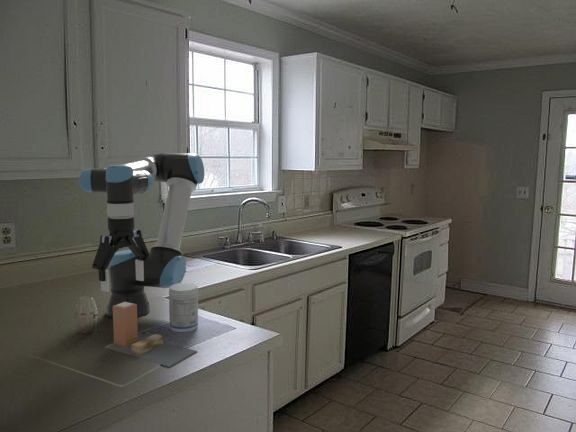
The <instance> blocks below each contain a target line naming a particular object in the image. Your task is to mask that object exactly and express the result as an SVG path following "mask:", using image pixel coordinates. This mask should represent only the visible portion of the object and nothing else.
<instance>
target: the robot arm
mask: <svg viewBox="0 0 576 432" xmlns="http://www.w3.org/2000/svg"><path fill="white" fill-rule="evenodd" d="M79 173H80V174H79V177H78V183H79V184H78V186H79V188H80V189H81V190H82V191H83V192H85V193H92V194H95V193H99V194H106V209H107V210H106V212H107V216H108V218H107V230H108V231H109V234H108V235H101V236H100V238H99V245H98V247H97V250H96V254H95V257H94V260H93V263H92V265H91V266H92V267H91V269H93V270H97V271H98V281H100V291H101V292H104V293H105V292H106V293H109V292H110V296H109V300H108V304H107V306H106V316H107V317H108V318H112V319H113V306H114V305H117V304H120V303H123V302H129V303H134V304H137V318H138V317H143V316H145V315H147V314H148V313H150V310H151V309H150V305H151V304H150V302H149V301H148V297H147V294H146V291H145V287H146V288H148V287H149V288H159V289H169V287H170V286H171V285H173V284H177V283H183V282H182V281H183V280H184V277H185V274H186V271H187V261H186V258H185V257H184V256H183V254H184V253H183V252H182V251H181V249H180V248H181V243H182V238H183V233H184V230H185V225H186V220H187V215H188V210H189V205H190V202H191V201H190V200H191V196H192V193H193V192H194V191H196V190H197V187H198V185H199V184H202V183H203V182H204V181H205V167H204V161H203V159H202V157H201V156H200V155H199V154H197V153H191V152H187V153H182V152H181V153H177V152H160V153H159V152H158V153H154V154H151V155H146V156H141V157H138V158H137V159H136V160H135V161H131V162H126V163H122V164H110V165H107V166H106V167H103V168H86V169H83V170H81V172H79ZM154 182H159V183H166V185H167V186H168V191H167V196H166V200H165V205H164V209H163V213H162V216H161V222H160V227H159V229H158V234H157V239H156V243H155V245H153V246H151V248H150V251H149V250H148V247H147V245H146V243H145V241H144V239H143V235H142V234H143V233H142V230H140V229H135V218H134V216H135V210H134V209H135V208H134V207H135V206H134V205H135V204H134V195H138V194H139V195H140V194H145V193H147V192H149V191H150V190H151V189H152V187H153V186H154V185H153V184H154ZM123 248H128V249H124V250H120V251H119V249H123ZM108 267H109V269H107V268H108Z"/></svg>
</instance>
